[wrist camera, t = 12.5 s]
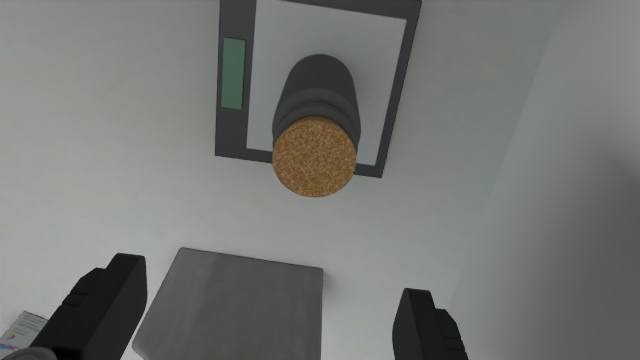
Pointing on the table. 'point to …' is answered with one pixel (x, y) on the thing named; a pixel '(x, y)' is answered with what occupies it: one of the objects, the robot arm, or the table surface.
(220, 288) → the planter
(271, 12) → the scale
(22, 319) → the ink box
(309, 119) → the bottle
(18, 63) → the table surface
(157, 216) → the table surface
